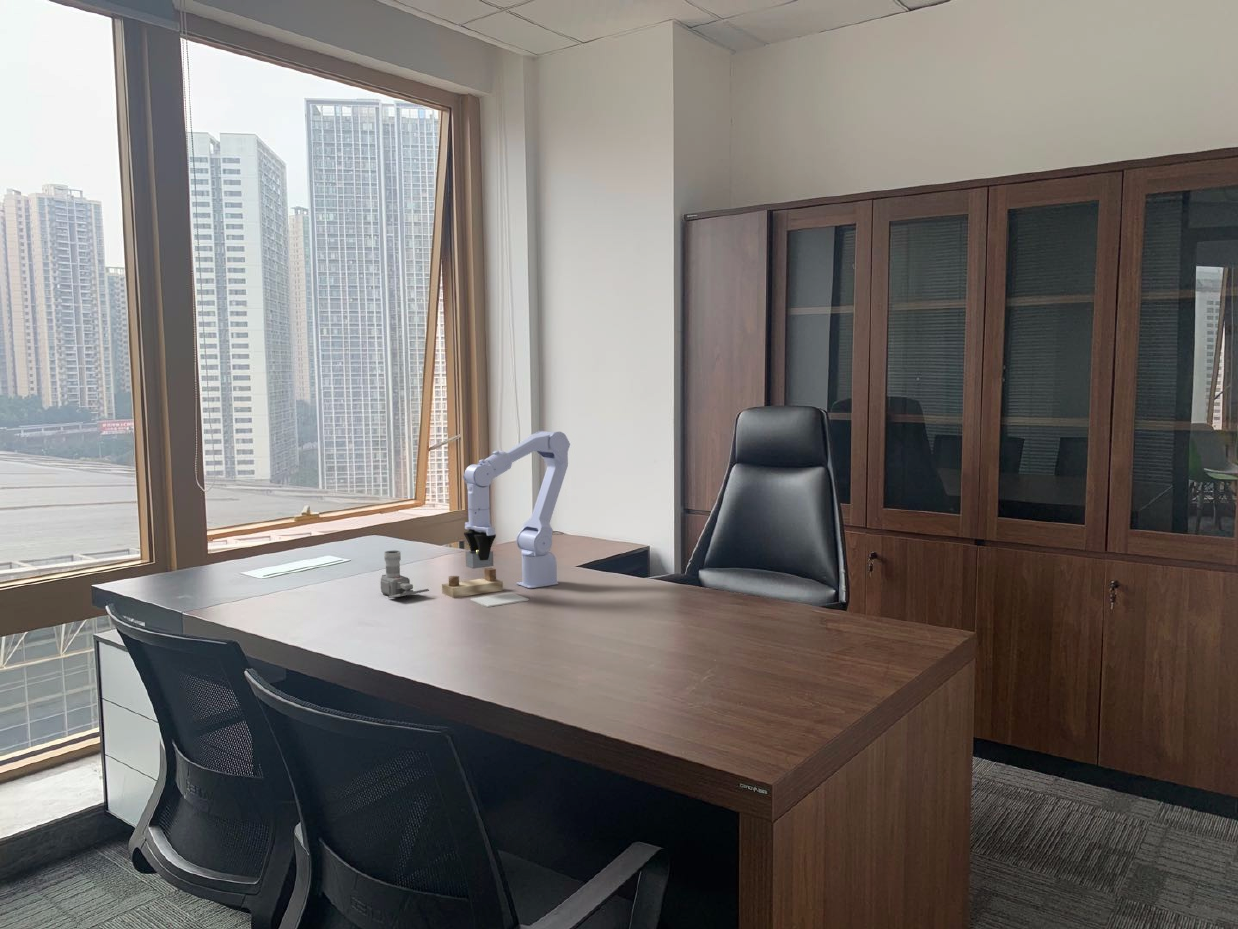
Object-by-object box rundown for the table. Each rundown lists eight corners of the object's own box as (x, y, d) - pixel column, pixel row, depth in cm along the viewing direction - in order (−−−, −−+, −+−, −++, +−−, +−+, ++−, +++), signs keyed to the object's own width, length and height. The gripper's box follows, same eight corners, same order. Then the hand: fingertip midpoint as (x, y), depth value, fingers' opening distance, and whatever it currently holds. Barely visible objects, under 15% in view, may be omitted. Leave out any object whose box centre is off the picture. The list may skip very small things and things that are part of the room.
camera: (400, 548, 260) (428, 555, 249) (401, 589, 262) (429, 599, 250) (372, 552, 255) (399, 560, 244) (373, 594, 256) (400, 604, 245)
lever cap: (486, 563, 256) (485, 547, 256) (493, 565, 253) (492, 549, 252) (466, 566, 253) (465, 550, 253) (473, 568, 249) (472, 552, 249)
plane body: (491, 586, 264) (490, 566, 264) (502, 590, 259) (502, 570, 258) (442, 593, 256) (441, 572, 255) (453, 597, 250) (452, 576, 250)
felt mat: (510, 594, 254) (510, 592, 254) (528, 600, 246) (528, 599, 246) (470, 600, 247) (470, 598, 247) (487, 607, 239) (487, 605, 239)
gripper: (454, 507, 256) (455, 556, 257) (476, 513, 243) (478, 564, 245) (477, 505, 259) (479, 553, 261) (501, 510, 247) (502, 561, 249)
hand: (480, 558), depth 253 cm, fingers closed on lever cap, 4 cm apart
